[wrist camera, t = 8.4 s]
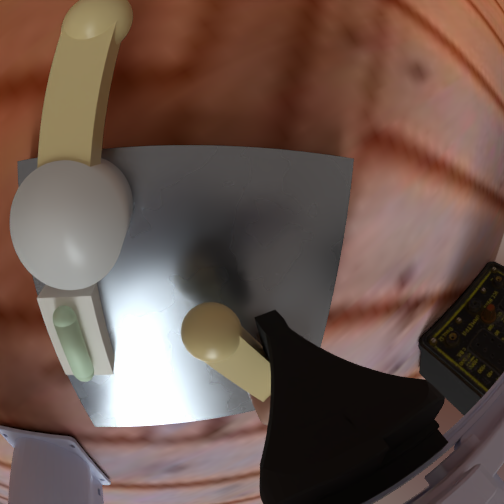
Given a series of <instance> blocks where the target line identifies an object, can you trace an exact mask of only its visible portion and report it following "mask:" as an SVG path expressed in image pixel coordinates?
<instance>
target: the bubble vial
mask: <svg viewBox="0 0 504 504" xmlns="http://www.w3.org/2000/svg"><path fill="white" fill-rule="evenodd" d="M37 301H38V304H39V307H40V310H41V313H42V316H43V319H44V322H45V325H46V328H47V331H48V333H49V336H50V339H51V341H52V344H53V346H54V349H55V351H56V354H57V356H58V358H59V361H60V363H61V365H62V367H63V370H64V372H65V374H66V375H74V376H75V377H76V378H77V379H78V380H80V381H82V382H87V381H90V380H91V379H92V378H93V376H94V375H114V361H115V356H114V352H113V349H112V345H111V342H110V338H109V335H108V331H107V327H106V323H105V319H104V315H103V310H102V306H101V301H100V297H99V292H98V287H97V283H95V284H93V285H91V286H89V287H86V288H83V289H78V290H61V289H57V288H54V287H51V286H48V285H46V284H45V286H44V287H43V289H42V290H41V292H40V294H39V295H38V297H37Z"/></svg>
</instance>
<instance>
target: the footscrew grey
mask: <svg viewBox="0 0 504 504" xmlns="http://www.w3.org/2000/svg"><path fill="white" fill-rule="evenodd" d="M132 21H133V11H132V7H131V5H130V3H129V2H128V0H79V1H78V2H77V3H75V4H74V5H73V6H72V7H71V9H70V10H69V11H68V12H67V14H66V16H65V18H64V20H63V23H62V26H61V35H60V38H59V41H58V45H57V48H56V51H55V55H54V59H53V62H52V66H51V70H50V75H49V79H48V84H47V89H46V94H45V99H44V105H43V112H42V119H41V127H40V136H39V147H38V164H37V169H35V170H34V171H33V172H31V173H30V174H29V175H28V176H27V177H26V178H25V180H24V181H23V182H22V183H21V185H20V187H19V188H18V190H17V192H16V194H15V196H14V199H13V202H12V206H11V211H10V233H11V239H12V242H13V246H14V248H15V251H16V253H17V255H18V257H19V259H20V261H21V262H22V264H23V265H24V266H25V268H26V269H27V270H28V271H29V272H30V273H31V274H32V275H33V276H34V277H35V278H37V279H38V280H40V281H41V282H43V283H45V284H46V285H48V286H51V287H54V288H57V289H61V290H78V289H83V288H86V287H89V286H91V285H93V284H95V283H97V282H98V281H100V280H101V279H103V278H104V277H105V276H106V275H107V274H108V273H109V271H110V270H111V269H112V268H113V266H114V264H115V263H116V261H117V259H118V257H119V254H120V251H121V248H122V245H123V242H124V238H125V235H126V232H127V229H128V226H129V223H130V221H131V217H132V212H133V197H132V192H131V188H130V185H129V183H128V181H127V179H126V177H125V176H124V174H123V173H122V172H121V170H120V169H119V168H118V167H117V166H115V165H114V164H113V163H111V162H109V161H107V160H105V159H103V158H101V153H102V142H103V133H104V125H105V117H106V111H107V104H108V98H109V92H110V87H111V82H112V77H113V72H114V68H115V63H116V59H117V55H118V51H119V47H120V44H121V41H122V40H123V39H124V38H125V37H126V35H127V34H128V32H129V30H130V28H131V25H132Z"/></svg>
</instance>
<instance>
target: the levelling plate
mask: <svg viewBox="0 0 504 504" xmlns="http://www.w3.org/2000/svg"><path fill="white" fill-rule="evenodd" d="M101 158H103V159H105V160H107V161H109V162H111V163H113V164H114V165H115V166H117V167H118V168H119V169H120V170H121V172H122V173H123V174H124V176H125V177H126V179H127V181H128V183H129V185H130V188H131V192H132V197H133V212H132V217H131V221H130V223H129V226H128V229H127V232H126V235H125V238H124V242H123V245H122V248H121V251H120V254H119V257H118V259H117V261H116V263H115V264H114V266H113V268H112V269H111V270H110V271H109V273H108V274H107V275H106V276H105V277H104V278H103V279H101V280H100V281H98V282H97V287H98V292H99V297H100V301H101V306H102V310H103V315H104V319H105V323H106V327H107V331H108V335H109V338H110V342H111V345H112V349H113V352H114V356H115V361H114V375H94V376H93V378H92V379H91V380H90V381H87V382H82V381H80V380H78V379H77V378H76V377H75V376H74V375H68V377H69V379H70V381H71V383H72V385H73V387H74V389H75V391H76V393H77V395H78V397H79V399H80V401H81V403H82V405H83V406H84V408H85V410H86V412H87V414H88V415H89V417H90V419H91V420H92V422H93V424H94V425H95V427H128V426H150V425H163V424H174V423H183V422H191V421H199V420H206V419H212V418H218V417H224V416H229V415H235V414H240V413H245V412H249V411H254V410H255V408H254V406H253V404H252V401H251V399H250V397H249V395H248V393H247V391H245V390H244V389H242V388H241V387H239V386H238V385H236V384H235V383H233V382H232V381H230V380H229V379H227V378H226V377H224V376H223V375H222V374H220V373H219V372H217V371H216V370H214V369H213V368H212V367H210V366H209V365H208V364H206V363H205V362H204V361H201V360H198V359H196V358H195V357H193V356H192V355H191V354H190V353H189V352H188V351H187V350H186V348H185V346H184V344H183V342H182V339H181V325H182V322H183V319H184V317H185V316H186V314H187V313H188V312H189V311H190V310H191V309H192V308H193V307H195V306H197V305H199V304H201V303H206V302H216V303H220V304H223V305H225V306H227V307H229V308H230V309H231V310H232V311H233V312H234V313H235V314H236V315H237V317H238V318H239V320H240V323H241V326H242V327H243V328H244V329H245V330H246V331H247V332H248V333H249V334H250V335H251V336H252V337H253V338H254V339H256V340H257V341H258V342H259V343H260V344H261V345H262V343H261V340H260V336H259V333H258V329H257V326H256V322H255V318H254V317H257V316H259V315H262V314H265V313H267V312H270V311H273V310H276V311H277V312H278V313H279V314H280V315H281V316H282V317H283V318H284V320H285V321H286V323H287V325H288V326H289V328H290V329H292V330H293V331H295V332H296V333H298V334H299V335H301V336H302V337H304V338H305V339H307V340H308V341H310V342H311V343H313V344H315V345H316V346H318V347H320V346H321V343H322V339H323V335H324V331H325V327H326V322H327V318H328V314H329V309H330V305H331V301H332V296H333V291H334V286H335V281H336V276H337V271H338V266H339V261H340V255H341V250H342V244H343V238H344V232H345V225H346V218H347V212H348V204H349V197H350V189H351V180H352V171H353V161H354V159H352V158H346V157H340V156H333V155H326V154H318V153H310V152H302V151H292V150H282V149H270V148H257V147H240V146H213V145H164V146H138V147H122V148H109V149H102V153H101ZM37 164H38V158H33V159H27V160H22V161H18V184H19V187H20V185H21V183H22V182H23V181H24V180H25V178H26V177H27V176H28V175H29V174H30V173H31V172H33V171H34V170H35V169H37ZM32 276H33V275H32ZM33 280H34V284H35V287H36V291H37V295H39V294H40V292H41V290H42V289H43V287H44V286H45V283H43V282H41V281H40V280H38V279H37V278H35V277H34V276H33Z"/></svg>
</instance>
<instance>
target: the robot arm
mask: <svg viewBox="0 0 504 504" xmlns="http://www.w3.org/2000/svg"><path fill="white" fill-rule="evenodd" d="M254 318H255V322H256V326H257V329H258V333H259V336H260V340H261V343H262V347H263V350H264V352H265V353H266V355H267V357H268V359H269V361H270V371H271V397H270V412H269V421H268V428H267V435H266V441H265V446H264V450H263V454H262V459H261V463H260V496H261V500H262V502H263V504H373V503H375V502H376V501H378V500H380V499H382V498H383V497H385V496H387V495H388V494H390V493H391V492H393V491H395V490H396V489H398V488H399V487H401V486H402V485H404V484H405V483H406V482H408V481H410V480H411V479H412V478H414V477H415V476H416V475H418V474H419V473H421V472H422V471H423V470H424V469H426V468H427V467H428V466H430V465H431V464H432V463H433V462H435V461H436V460H437V459H438V458H440V457H441V456H442V455H443V454H444V453H445V452H446V451H448V450H449V449H450V448H451V447H452V446H453V445H454V444H455V446H454V451H453V452H452V453H451V454H450V455H449V456H448V457H447V458H446V459H445V460H444V461H442V462H441V463H440V464H439V465H438V466H437V467H436V468H435V469H433V470H432V471H431V472H430V473H429V474H427V475H426V476H425V479H426V481H427V482H428V483H429V486H428V487H426V488H425V489H424V490H422V491H421V492H419V493H418V494H417V495H415V496H414V497H412V498H411V499H410V500H408V501H406V502H405V503H403V504H504V482H503V481H502V480H501V478H500V477H499V476H498V475H497V473H496V472H497V471H498V470H499V468H500V467H501V466H502V464H503V463H504V372H503V374H502V375H501V376H500V377H499V378H498V380H497V381H496V382H495V383H494V384H493V386H492V387H491V388H490V389H489V390H488V391H487V392H486V394H485V395H484V396H483V397H482V398H481V399H480V400H479V401H478V402H477V403H476V404H475V405H474V406H473V407H472V408H471V409H470V410H469V411H468V412H467V413H466V414H465V415H464V416H463V417H462V418H461V419H460V420H459V421H458V422H457V423H456V424H455V425H454V426H453V427H452V428H450V429H449V430H448V431H447V432H446V433H445V434H444V435H442V434H441V433H440V432H439V430H438V428H439V424H438V423H437V422H436V421H435V420H434V419H435V417H436V416H437V414H438V413H439V411H440V409H441V408H442V406H443V404H444V399H445V397H444V396H443V395H442V394H441V393H440V392H439V391H438V390H437V389H436V388H435V387H434V386H433V385H432V384H430V383H429V382H428V381H427V380H423V379H415V378H407V377H400V376H395V375H391V374H386V373H382V372H379V371H375V370H372V369H369V368H366V367H362V366H359V365H357V364H354V363H352V362H349V361H346V360H344V359H342V358H340V357H337V356H335V355H333V354H331V353H329V352H327V351H325V350H324V349H322V348H320V347H318V346H316V345H315V344H313V343H311V342H310V341H308V340H307V339H305V338H304V337H302V336H301V335H299V334H298V333H296V332H295V331H293V330H292V329H290V328H289V326H288V325H287V323H286V321H285V320H284V318H283V317H282V316H281V315H280V314H279V313H278V312H277V311H276V310H273V311H270V312H267V313H265V314H262V315H259V316H257V317H254ZM0 433H1V434H2V436H3V437H4V438H5V439H6V440H7V441H8V442H9V443H10V444H11V445H12V447H13V448H14V452H13V458H12V465H11V473H10V483H9V498H8V504H104V501H103V490H102V485H110V484H111V481H110V480H109V479H108V478H107V477H106V476H105V475H104V473H103V472H102V471H101V470H100V469H99V468H98V467H97V466H96V465H95V463H94V462H93V461H92V460H91V459H90V457H89V456H88V455H87V454H86V453H85V451H84V450H83V449H82V448H81V446H80V445H79V444H78V443H77V441H76V440H75V439H74V438H72V437H70V436H62V435H53V434H45V433H38V432H31V431H26V430H20V429H15V428H10V427H5V426H1V425H0Z"/></svg>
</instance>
